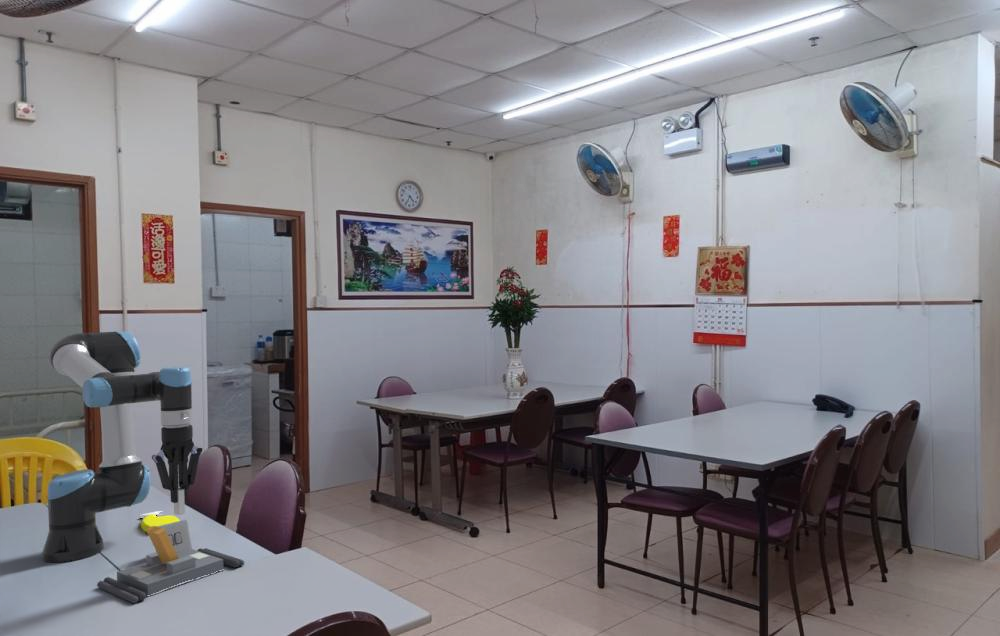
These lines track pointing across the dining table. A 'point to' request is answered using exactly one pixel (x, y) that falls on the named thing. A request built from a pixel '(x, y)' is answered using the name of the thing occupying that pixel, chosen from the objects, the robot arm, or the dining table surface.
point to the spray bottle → (156, 520)
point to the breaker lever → (162, 544)
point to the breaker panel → (166, 577)
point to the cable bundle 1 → (121, 590)
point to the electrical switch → (178, 535)
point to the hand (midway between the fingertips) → (179, 513)
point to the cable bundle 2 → (224, 558)
